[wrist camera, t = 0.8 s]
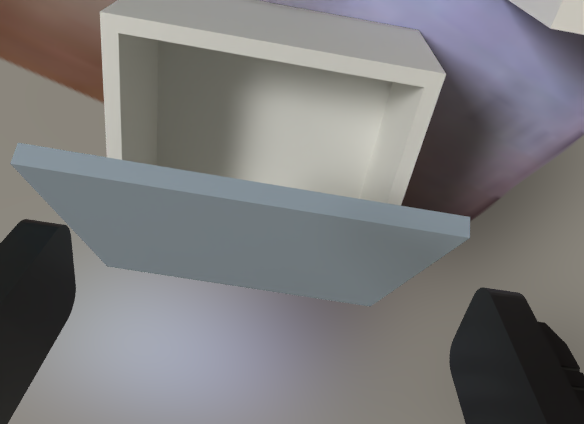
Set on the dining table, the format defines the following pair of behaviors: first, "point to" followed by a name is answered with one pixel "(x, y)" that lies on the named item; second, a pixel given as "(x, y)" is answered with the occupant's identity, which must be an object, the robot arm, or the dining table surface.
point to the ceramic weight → (556, 13)
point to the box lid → (238, 227)
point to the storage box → (268, 94)
